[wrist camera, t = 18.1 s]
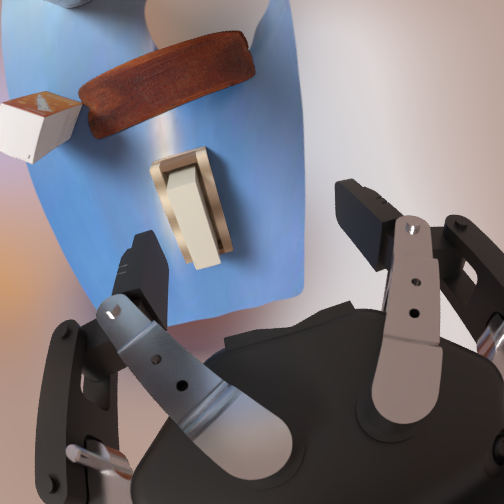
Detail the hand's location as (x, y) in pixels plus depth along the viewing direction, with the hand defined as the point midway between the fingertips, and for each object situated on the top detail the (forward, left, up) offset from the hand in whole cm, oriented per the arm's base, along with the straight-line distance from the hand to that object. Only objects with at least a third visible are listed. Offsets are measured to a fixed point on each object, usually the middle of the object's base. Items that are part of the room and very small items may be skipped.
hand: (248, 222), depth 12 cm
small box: (-9, -23, -33) cm, 41 cm away
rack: (+14, -6, -33) cm, 36 cm away
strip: (+14, -6, -32) cm, 36 cm away
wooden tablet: (-7, -5, -34) cm, 35 cm away
